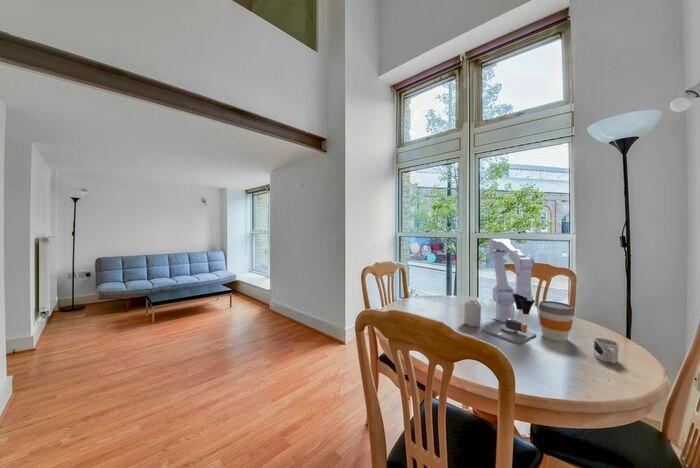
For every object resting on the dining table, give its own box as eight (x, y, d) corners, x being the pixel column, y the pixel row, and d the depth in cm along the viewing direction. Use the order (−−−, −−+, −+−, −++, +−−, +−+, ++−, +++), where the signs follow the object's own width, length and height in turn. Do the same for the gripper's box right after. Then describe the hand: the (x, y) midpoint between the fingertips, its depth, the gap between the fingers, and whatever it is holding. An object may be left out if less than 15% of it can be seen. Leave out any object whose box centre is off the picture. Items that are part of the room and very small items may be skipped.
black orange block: (497, 329, 126) (498, 318, 126) (505, 326, 130) (505, 315, 129) (521, 337, 117) (522, 325, 117) (529, 333, 121) (529, 322, 121)
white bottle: (477, 322, 137) (477, 299, 137) (482, 328, 130) (483, 304, 130) (462, 321, 138) (462, 299, 138) (467, 327, 131) (467, 303, 130)
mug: (590, 352, 105) (591, 336, 105) (612, 356, 103) (613, 339, 102) (601, 364, 96) (602, 347, 96) (626, 369, 94) (627, 351, 93)
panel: (498, 324, 135) (498, 321, 135) (536, 336, 121) (536, 333, 121) (481, 331, 126) (481, 328, 126) (519, 345, 112) (519, 342, 112)
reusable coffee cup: (573, 337, 120) (574, 304, 119) (571, 346, 111) (573, 311, 110) (539, 329, 129) (540, 299, 128) (535, 337, 119) (536, 304, 119)
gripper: (508, 279, 131) (507, 306, 131) (520, 286, 117) (519, 316, 117) (523, 280, 129) (523, 307, 130) (538, 287, 115) (537, 317, 116)
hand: (522, 311), depth 123 cm, fingers open, 6 cm apart
